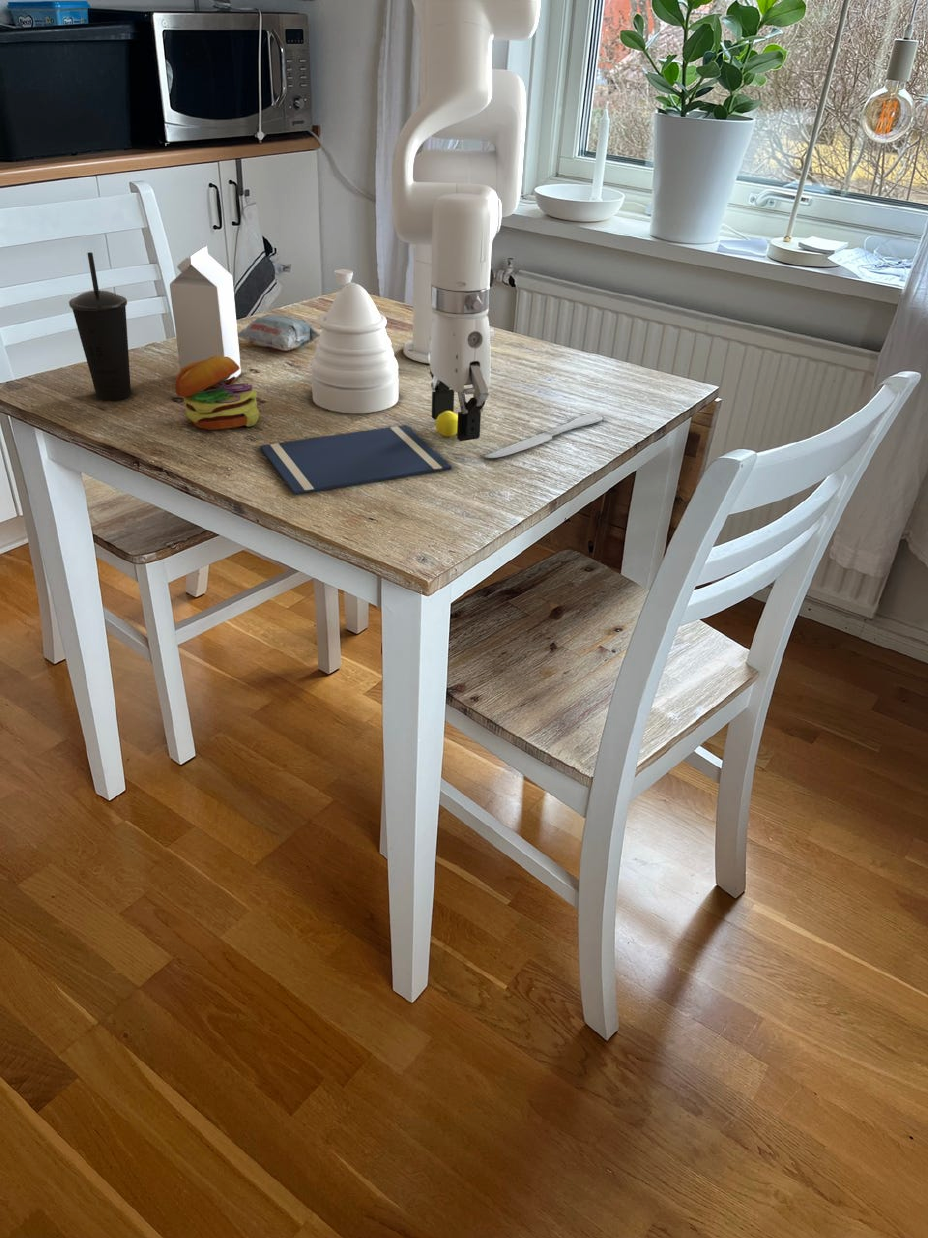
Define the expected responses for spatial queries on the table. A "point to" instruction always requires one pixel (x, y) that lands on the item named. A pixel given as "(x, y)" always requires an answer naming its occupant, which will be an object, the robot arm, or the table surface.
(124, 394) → the drinking cup
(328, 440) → the dish cloth
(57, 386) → the table surface
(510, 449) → the butter knife
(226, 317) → the milk carton
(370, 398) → the honey pot
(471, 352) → the robot arm
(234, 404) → the cheeseburger
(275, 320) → the packaged food
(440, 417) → the light bulb
